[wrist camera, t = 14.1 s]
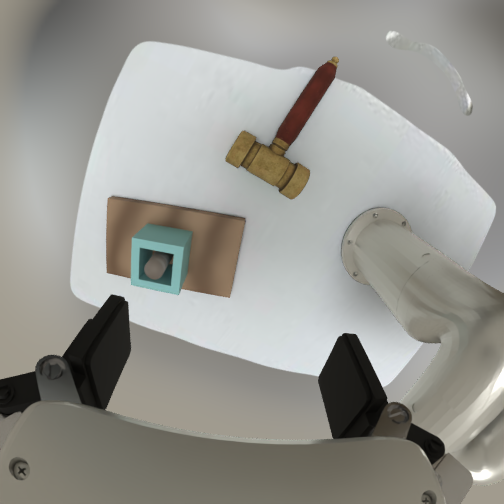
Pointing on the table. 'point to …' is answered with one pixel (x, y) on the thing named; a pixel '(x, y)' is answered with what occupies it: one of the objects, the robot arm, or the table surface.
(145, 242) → the collar
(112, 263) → the post stand
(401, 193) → the table surface
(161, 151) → the table surface
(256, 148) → the gavel
